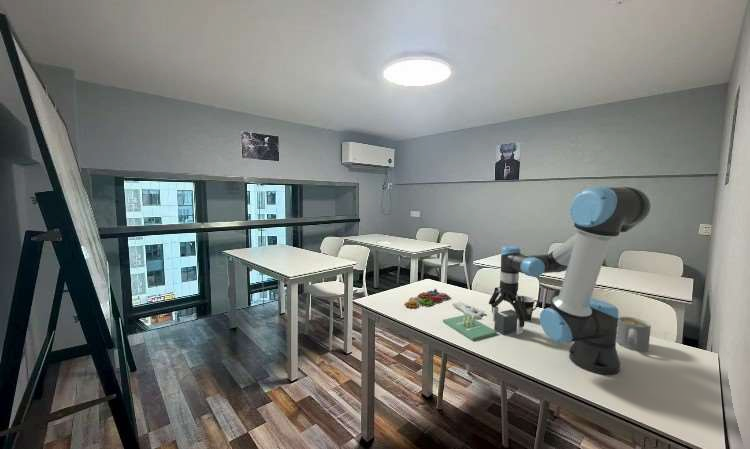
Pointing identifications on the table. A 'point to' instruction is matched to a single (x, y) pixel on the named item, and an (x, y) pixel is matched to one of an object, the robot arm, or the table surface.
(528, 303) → the coffee mug
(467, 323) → the board
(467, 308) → the gun
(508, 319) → the plug
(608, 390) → the table surface
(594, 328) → the robot arm
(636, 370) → the table surface
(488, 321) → the table surface
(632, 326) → the coffee mug
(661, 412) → the table surface
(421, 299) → the gear puzzle
